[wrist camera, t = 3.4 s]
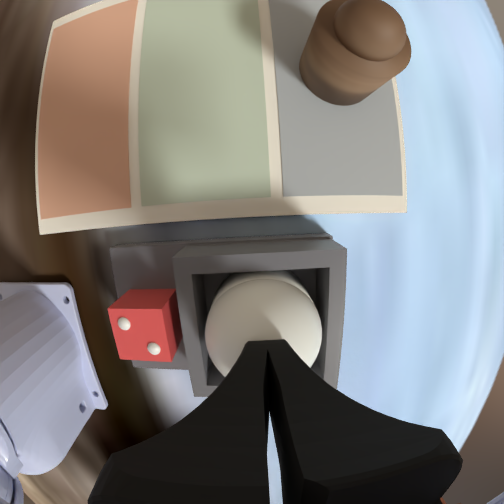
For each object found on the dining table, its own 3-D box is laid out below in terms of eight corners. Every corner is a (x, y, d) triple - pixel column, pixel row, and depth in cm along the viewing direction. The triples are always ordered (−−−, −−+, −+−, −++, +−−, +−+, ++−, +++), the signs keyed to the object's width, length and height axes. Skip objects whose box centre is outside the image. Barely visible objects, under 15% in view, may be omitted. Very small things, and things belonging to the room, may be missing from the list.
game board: (404, 212, 14) (407, 212, 14) (42, 233, 14) (39, 234, 14) (369, -14, 11) (371, -16, 11) (55, 22, 11) (53, 21, 11)
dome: (309, 349, 15) (329, 408, 10) (217, 354, 15) (205, 415, 10) (310, 260, 14) (339, 296, 9) (208, 265, 14) (186, 304, 9)
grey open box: (323, 354, 16) (339, 392, 12) (139, 358, 16) (117, 393, 12) (327, 233, 14) (350, 247, 11) (117, 244, 15) (83, 260, 11)
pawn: (377, 108, 13) (443, 70, 7) (302, 104, 13) (336, 49, 7) (366, 44, 12) (417, -12, 6) (295, 37, 12) (318, -35, 6)
